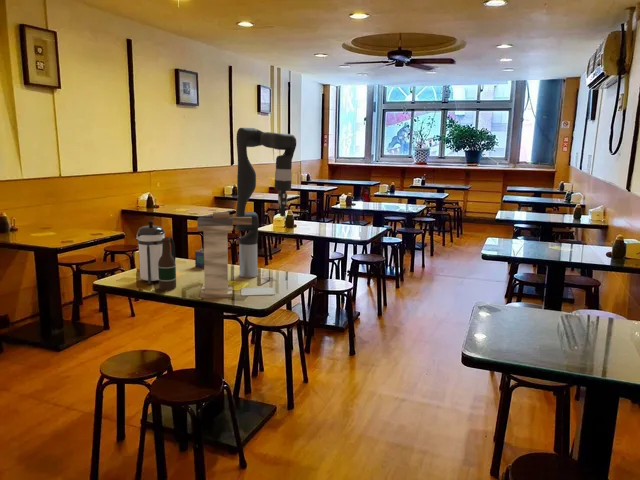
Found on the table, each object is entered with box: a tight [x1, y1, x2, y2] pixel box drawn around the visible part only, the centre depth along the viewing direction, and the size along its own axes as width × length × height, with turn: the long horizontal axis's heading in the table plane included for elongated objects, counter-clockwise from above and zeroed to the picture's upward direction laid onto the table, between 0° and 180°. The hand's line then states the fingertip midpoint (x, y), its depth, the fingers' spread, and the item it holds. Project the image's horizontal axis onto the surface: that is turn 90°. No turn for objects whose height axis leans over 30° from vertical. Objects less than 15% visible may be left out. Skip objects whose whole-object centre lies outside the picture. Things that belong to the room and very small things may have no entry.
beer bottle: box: [158, 237, 177, 291], centre depth 230 cm, size 8×8×24 cm
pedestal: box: [196, 215, 234, 299], centre depth 223 cm, size 14×15×35 cm
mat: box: [240, 287, 276, 297], centre depth 229 cm, size 11×15×1 cm
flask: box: [194, 248, 204, 269], centre depth 272 cm, size 9×3×11 cm, turn 63°
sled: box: [212, 211, 252, 226], centre depth 221 cm, size 6×17×5 cm, turn 99°
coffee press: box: [135, 220, 176, 286], centre depth 243 cm, size 17×16×30 cm
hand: (281, 214), depth 225 cm, fingers open, 8 cm apart
